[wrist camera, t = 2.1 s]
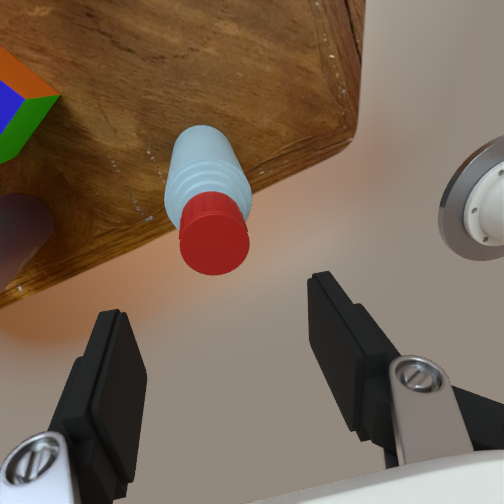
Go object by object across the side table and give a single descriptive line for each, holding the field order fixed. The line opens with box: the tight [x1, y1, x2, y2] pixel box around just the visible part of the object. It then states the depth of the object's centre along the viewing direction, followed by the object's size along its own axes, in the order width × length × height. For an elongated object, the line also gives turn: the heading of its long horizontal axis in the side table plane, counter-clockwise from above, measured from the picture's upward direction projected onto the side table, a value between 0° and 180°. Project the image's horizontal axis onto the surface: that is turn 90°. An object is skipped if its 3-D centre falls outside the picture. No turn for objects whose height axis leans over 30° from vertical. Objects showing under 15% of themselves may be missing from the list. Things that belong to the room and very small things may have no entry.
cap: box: [179, 191, 249, 275], centre depth 21 cm, size 4×4×4 cm
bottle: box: [164, 125, 252, 230], centre depth 28 cm, size 6×6×20 cm
